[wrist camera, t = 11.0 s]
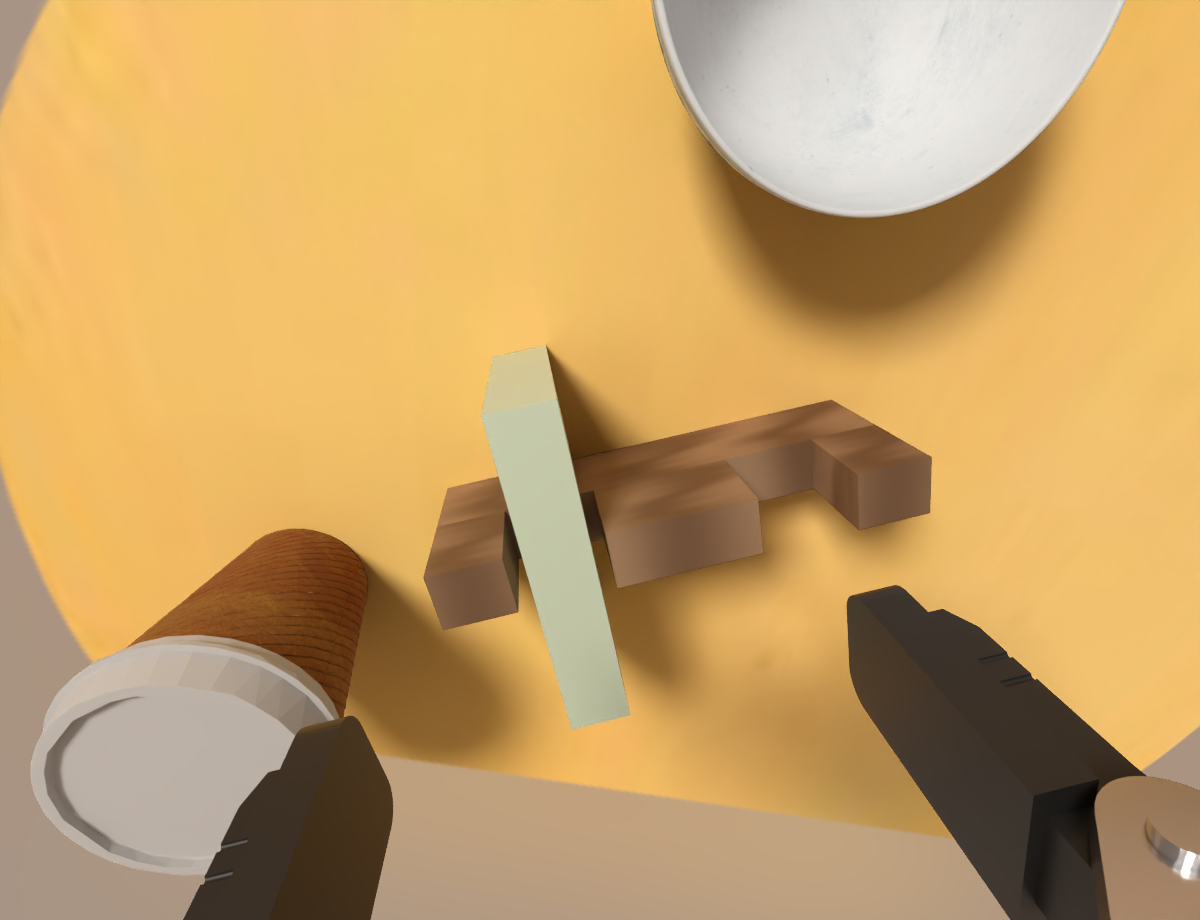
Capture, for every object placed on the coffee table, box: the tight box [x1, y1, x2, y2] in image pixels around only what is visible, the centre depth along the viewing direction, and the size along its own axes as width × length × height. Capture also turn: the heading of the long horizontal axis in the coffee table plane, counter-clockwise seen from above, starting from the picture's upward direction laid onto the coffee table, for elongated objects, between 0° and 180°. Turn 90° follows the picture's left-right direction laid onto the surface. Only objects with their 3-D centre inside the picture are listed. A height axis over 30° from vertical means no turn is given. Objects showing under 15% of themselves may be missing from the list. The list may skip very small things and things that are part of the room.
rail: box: [423, 400, 932, 630], centre depth 27 cm, size 20×2×8 cm, turn 101°
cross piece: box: [481, 345, 630, 730], centre depth 26 cm, size 14×2×9 cm, turn 11°
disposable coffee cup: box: [30, 529, 368, 875], centre depth 25 cm, size 10×10×12 cm
